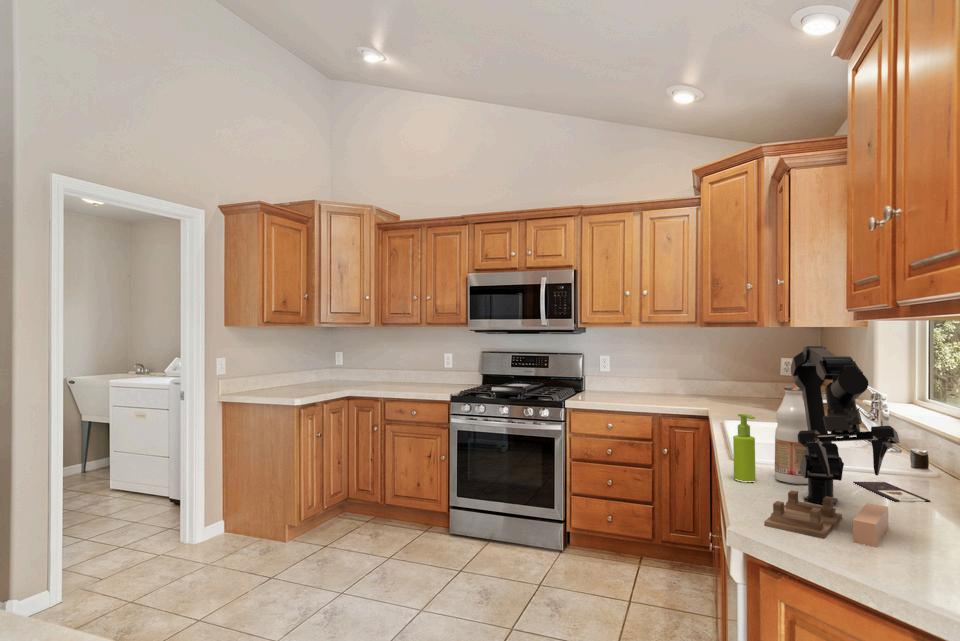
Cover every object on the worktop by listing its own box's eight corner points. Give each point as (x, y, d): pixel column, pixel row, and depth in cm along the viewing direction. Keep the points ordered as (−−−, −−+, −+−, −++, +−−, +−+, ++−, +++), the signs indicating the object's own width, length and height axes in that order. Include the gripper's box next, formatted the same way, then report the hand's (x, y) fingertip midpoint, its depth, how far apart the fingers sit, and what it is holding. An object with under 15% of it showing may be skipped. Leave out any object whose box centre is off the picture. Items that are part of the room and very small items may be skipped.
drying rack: (786, 507, 141) (786, 487, 141) (842, 518, 133) (841, 497, 133) (764, 525, 128) (764, 503, 128) (824, 538, 120) (823, 515, 120)
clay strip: (867, 524, 129) (866, 502, 129) (888, 528, 126) (888, 506, 126) (853, 543, 118) (852, 519, 118) (876, 548, 115) (875, 524, 115)
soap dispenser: (745, 484, 162) (744, 416, 162) (729, 478, 169) (728, 413, 169) (762, 483, 163) (761, 415, 164) (746, 477, 170) (745, 412, 171)
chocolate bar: (885, 482, 162) (930, 500, 144) (885, 485, 162) (930, 504, 144) (853, 481, 163) (894, 500, 145) (853, 484, 163) (894, 503, 145)
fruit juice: (771, 480, 164) (772, 386, 166) (777, 475, 172) (779, 385, 173) (807, 486, 159) (809, 388, 160) (812, 481, 166) (813, 387, 167)
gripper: (786, 401, 130) (793, 469, 124) (882, 393, 118) (895, 467, 111) (801, 414, 137) (809, 478, 131) (893, 407, 125) (906, 477, 118)
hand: (851, 475), depth 123 cm, fingers open, 9 cm apart
